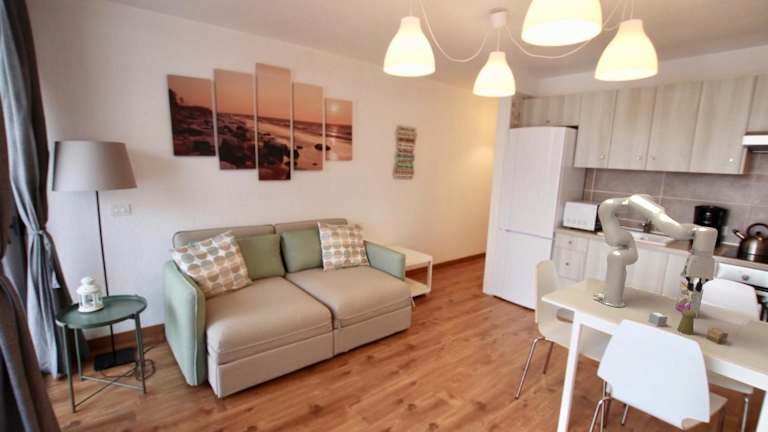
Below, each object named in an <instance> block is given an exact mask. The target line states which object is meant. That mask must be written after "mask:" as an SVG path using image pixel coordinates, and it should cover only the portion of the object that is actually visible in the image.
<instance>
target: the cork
mask: <svg viewBox="0 0 768 432" xmlns="http://www.w3.org/2000/svg"><path fill="white" fill-rule="evenodd" d="M681 316H682V317H681V320H680V321H679V324H678V327H677V329H676V330H678V332H679V333H680V332H681V333H680V334H683V335H687V336H693V335H694V323H695V322H694V321H695V320H694V319H696V318H695V317H696V313H695V312H693V311H691V310H683V311H682V312H681Z"/></svg>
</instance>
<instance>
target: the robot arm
mask: <svg viewBox="0 0 768 432" xmlns="http://www.w3.org/2000/svg"><path fill="white" fill-rule="evenodd" d="M597 210H598V211H597V214H598V219H599V221H600V225H601V228H602V233H603V236H604V241H605V243H606V244H607V246H608V247H611V248H612V247H614V248H617V249H612V250H611V251H610V252H609V253H608V254H607V256H606V274H605V279H604V286H603V292H600V293H596V292H595V293H593V294H592V297H594V298H597V299H598V301H599V303H601V302H602V303H601V304H603V303H604V305H605V304H606V306H608V305H609V307H612V308H624V307H625V306H626V303H625V302H624V301H623V297H624V293H625V286H626V281H627V274H628V273H627V266H630V265H634V264H636V263H637V262H638V259H639V254H638V249H637V246H636V242H635V238H634V235H633V234H632V233H631V232H630V230H627V229H624V228H621V225H620V222H619V219H618V218H617V217H616V214H625V213H626V214H628V213H632V212H633V213H634V212H636V213H638V214H639V215H641V216H643V217H644V218H646V219H647V220H649V221H650V222H651V223H652V224H653V226H655V227H656V228H657V229H658V230H659V231H661V232H662V233H663V234H665V235H667V236H668V237H670V238H671V239H674V240H677V241H683V240H685V241H686V240H693V243H692V247H691V248H690V249H688V250H687V252H688V253H689V254H688V256H687V257H686V260H685V263H684V266H683V270H682V272H681V273H680V276H681V277H683V279H685V280H686V282H688V285H687V289H688V290H689V291H693V287H694V284H695V283H694V280H695V278H696V279H698V281H697V282H696V284H695V285H696V288H695V290H696V291H697V292H701V290H702V289H703V287H704V286H703V285H705V284H707V283H708V282H710V281H714V280H715V279H714V276H715V267H716V266H715V264H716V261H715V258H714V257H713V255H714V251H715V247H716V242H717V238H718V230H717V228H713V227H708V226H701V225H699V224H695V223H692V222H691V223H688V222H687V223H679V222H677V221H676V220H674V219H672V217H669V215H667V213H666V212H667V211H666V208H665V207H663V206H662V205H660V204H658V203H657V202H656V201H655V198H654V197H653V196H652V195H650V194H648V193H636V194H632V195H631V196H629V197H620V198H619V197H617V198H616V197H615V198H607V199H606V200H604V201H602V202H601V203H600V205H599V206H598V209H597Z"/></svg>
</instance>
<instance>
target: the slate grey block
mask: <svg viewBox="0 0 768 432" xmlns="http://www.w3.org/2000/svg"><path fill="white" fill-rule="evenodd" d="M647 321H648V323H650V324H651V323H653V324H655V325H656V326H655V325H654V326H655V327H657V326H658V327H666V326H667V322H668V316H667V315H665V314H663V313H660V312H655V311H654V312H649V316H648V320H647ZM653 324H652V325H653Z"/></svg>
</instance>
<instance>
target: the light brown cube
mask: <svg viewBox="0 0 768 432" xmlns="http://www.w3.org/2000/svg"><path fill="white" fill-rule="evenodd" d="M728 337H729V333H728V332H726V331H724V330H722V329H719V328H717V327H713V328H707V330H706V335H705V340H707V341H711V342H712V343H714V344H716V345H724V344H727V341H728Z"/></svg>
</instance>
